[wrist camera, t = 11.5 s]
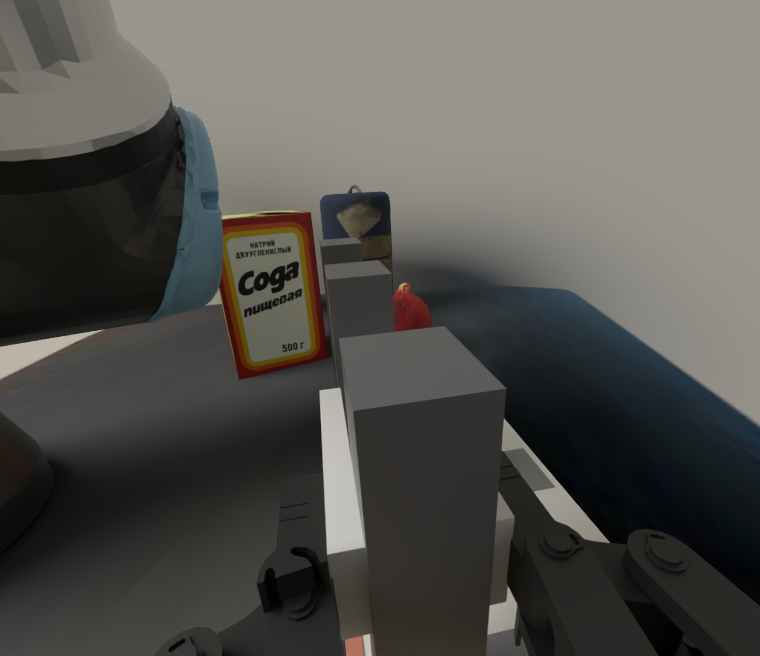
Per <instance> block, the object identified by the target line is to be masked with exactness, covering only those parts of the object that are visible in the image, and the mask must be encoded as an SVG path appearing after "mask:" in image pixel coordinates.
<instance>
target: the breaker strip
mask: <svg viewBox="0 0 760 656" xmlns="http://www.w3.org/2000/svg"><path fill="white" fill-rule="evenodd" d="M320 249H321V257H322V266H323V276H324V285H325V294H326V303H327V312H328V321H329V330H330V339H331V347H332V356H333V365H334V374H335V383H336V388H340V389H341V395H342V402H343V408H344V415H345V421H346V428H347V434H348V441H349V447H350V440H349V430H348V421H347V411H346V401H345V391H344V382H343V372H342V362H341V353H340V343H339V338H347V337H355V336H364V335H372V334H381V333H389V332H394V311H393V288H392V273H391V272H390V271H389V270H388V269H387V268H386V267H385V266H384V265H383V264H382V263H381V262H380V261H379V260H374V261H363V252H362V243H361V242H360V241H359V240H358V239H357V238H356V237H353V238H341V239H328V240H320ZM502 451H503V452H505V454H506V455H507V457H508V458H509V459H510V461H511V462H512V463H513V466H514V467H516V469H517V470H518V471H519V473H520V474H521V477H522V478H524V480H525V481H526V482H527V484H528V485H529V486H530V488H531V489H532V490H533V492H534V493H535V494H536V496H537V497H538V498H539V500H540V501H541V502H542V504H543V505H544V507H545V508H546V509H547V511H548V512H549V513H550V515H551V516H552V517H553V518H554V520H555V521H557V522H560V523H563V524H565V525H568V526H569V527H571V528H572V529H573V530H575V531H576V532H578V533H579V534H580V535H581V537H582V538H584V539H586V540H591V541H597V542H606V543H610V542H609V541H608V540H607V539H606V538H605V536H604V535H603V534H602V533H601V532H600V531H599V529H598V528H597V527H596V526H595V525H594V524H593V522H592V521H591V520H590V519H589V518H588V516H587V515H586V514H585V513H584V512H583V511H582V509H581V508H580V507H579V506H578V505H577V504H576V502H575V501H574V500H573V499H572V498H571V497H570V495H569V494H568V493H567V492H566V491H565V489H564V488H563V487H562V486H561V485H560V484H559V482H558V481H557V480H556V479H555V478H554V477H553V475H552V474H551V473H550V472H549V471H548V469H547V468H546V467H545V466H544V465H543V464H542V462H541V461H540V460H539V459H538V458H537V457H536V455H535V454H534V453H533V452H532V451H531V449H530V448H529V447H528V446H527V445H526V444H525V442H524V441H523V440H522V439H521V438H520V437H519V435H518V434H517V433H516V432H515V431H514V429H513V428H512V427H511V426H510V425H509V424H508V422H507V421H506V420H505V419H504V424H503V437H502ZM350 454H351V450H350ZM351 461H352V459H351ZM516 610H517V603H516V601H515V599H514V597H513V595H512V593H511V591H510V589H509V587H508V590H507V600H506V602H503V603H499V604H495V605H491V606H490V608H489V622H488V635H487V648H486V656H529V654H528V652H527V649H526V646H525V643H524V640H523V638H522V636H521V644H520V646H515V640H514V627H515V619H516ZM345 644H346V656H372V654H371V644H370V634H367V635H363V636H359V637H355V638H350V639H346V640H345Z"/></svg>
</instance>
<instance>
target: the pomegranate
mask: <svg viewBox="0 0 760 656" xmlns="http://www.w3.org/2000/svg"><path fill="white" fill-rule="evenodd" d="M410 288H411V286H410V285H408V284H407V283H403V284H401V285H400V287H399V288H398V290H397V292H396V293H395V294H394V295H393V311H394V332H398V331H406V330H415V329H423V328H431V326H432V323H431V314H430V311H429V309H428V307H427V305H426V304H425V303H424V301H423V300H422V299H421V298H420V297H418V296H417V295H415V294H413V293H411V291H410Z"/></svg>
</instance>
